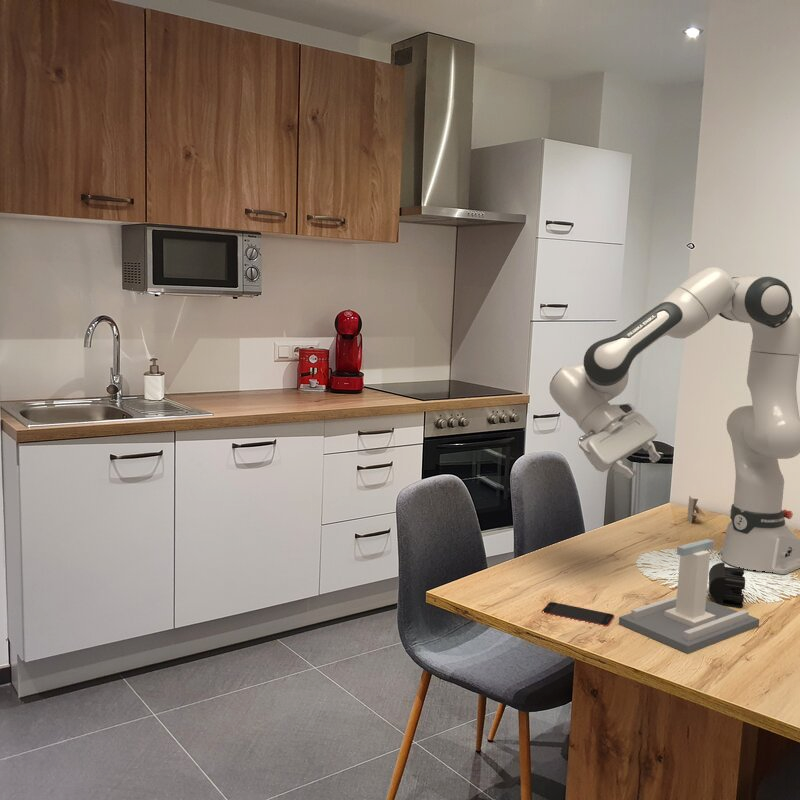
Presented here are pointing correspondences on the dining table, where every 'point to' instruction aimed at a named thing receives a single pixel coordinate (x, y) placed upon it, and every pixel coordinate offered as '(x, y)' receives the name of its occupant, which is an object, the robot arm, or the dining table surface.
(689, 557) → the stand
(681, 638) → the plate
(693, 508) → the architectural model
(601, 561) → the dining table surface
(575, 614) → the smartphone
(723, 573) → the black rounded block
